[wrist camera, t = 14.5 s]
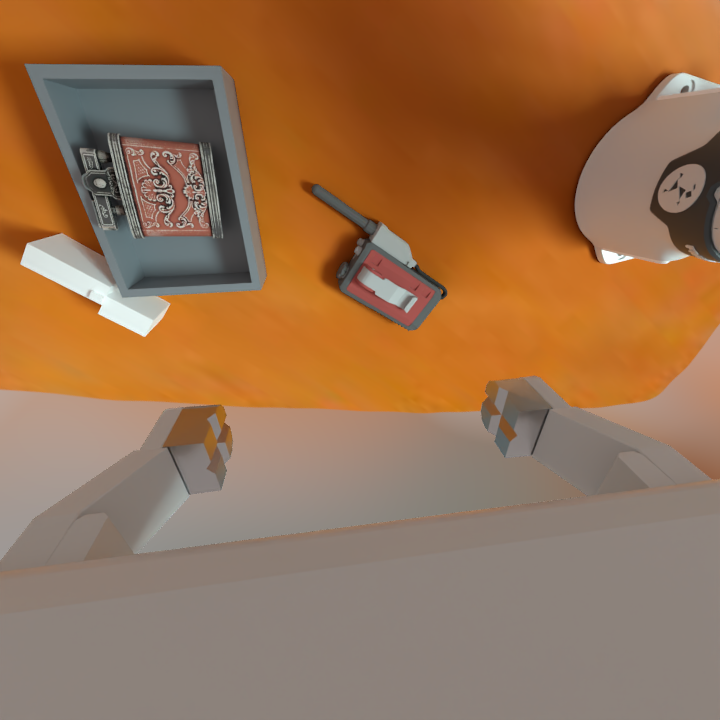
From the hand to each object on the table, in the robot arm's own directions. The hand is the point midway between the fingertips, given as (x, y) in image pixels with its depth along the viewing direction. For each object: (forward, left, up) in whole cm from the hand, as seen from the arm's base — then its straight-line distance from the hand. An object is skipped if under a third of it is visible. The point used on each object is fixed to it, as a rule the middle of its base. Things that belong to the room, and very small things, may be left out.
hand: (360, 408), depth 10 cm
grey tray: (+14, -4, -31) cm, 34 cm away
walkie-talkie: (-5, +4, -32) cm, 32 cm away
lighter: (+10, -4, -28) cm, 30 cm away
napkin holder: (+24, +5, -32) cm, 40 cm away
